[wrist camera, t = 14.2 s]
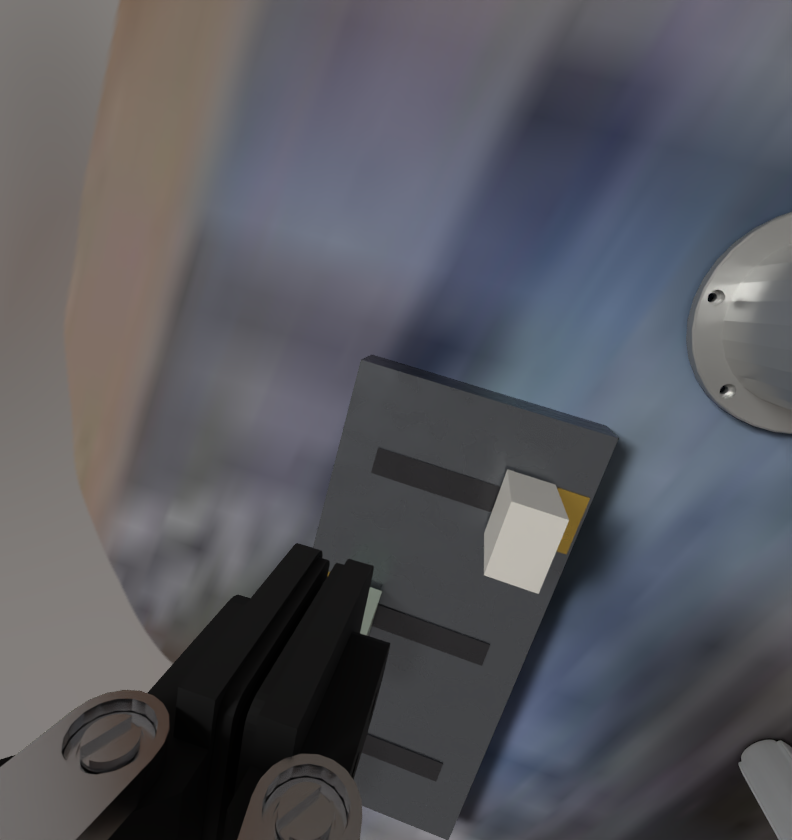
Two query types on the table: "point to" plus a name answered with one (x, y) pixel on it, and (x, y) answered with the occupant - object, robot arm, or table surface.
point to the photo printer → (771, 782)
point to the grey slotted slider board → (444, 567)
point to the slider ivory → (523, 531)
